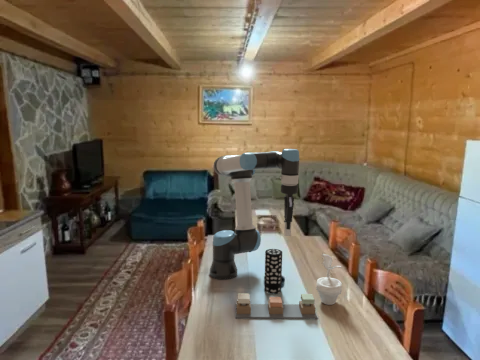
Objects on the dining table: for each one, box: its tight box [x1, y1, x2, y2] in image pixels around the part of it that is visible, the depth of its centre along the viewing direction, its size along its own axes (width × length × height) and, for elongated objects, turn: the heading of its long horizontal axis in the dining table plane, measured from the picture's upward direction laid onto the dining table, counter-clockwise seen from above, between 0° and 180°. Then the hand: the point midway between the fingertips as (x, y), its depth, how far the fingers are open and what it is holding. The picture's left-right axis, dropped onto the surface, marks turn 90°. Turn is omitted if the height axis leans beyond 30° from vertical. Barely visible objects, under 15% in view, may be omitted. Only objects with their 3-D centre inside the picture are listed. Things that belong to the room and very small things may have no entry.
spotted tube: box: [263, 248, 283, 295], centre depth 181 cm, size 8×8×20 cm
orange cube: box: [268, 296, 283, 307], centre depth 161 cm, size 5×5×5 cm
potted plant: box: [315, 252, 343, 306], centre depth 169 cm, size 13×12×25 cm
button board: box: [235, 300, 319, 320], centre depth 161 cm, size 11×35×4 cm, turn 91°
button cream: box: [237, 293, 251, 306], centre depth 161 cm, size 5×5×5 cm
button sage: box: [300, 293, 315, 306], centre depth 161 cm, size 5×5×5 cm
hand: (287, 235), depth 166 cm, fingers closed
